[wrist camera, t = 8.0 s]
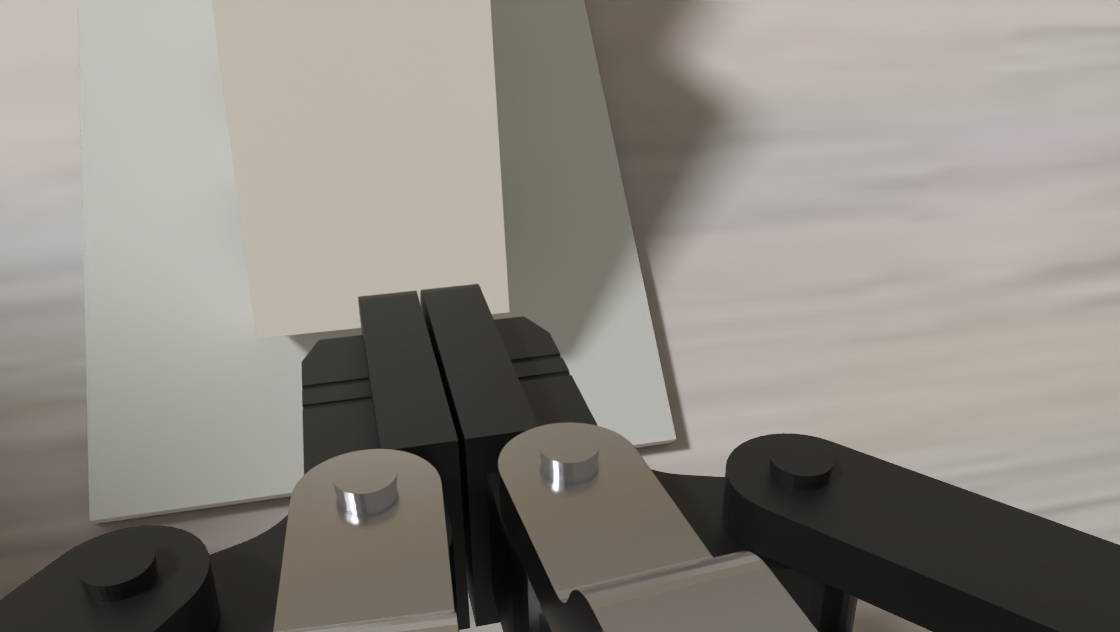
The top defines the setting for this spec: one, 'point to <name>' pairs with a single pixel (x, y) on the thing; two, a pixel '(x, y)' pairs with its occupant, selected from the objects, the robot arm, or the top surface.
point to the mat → (221, 272)
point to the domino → (362, 153)
